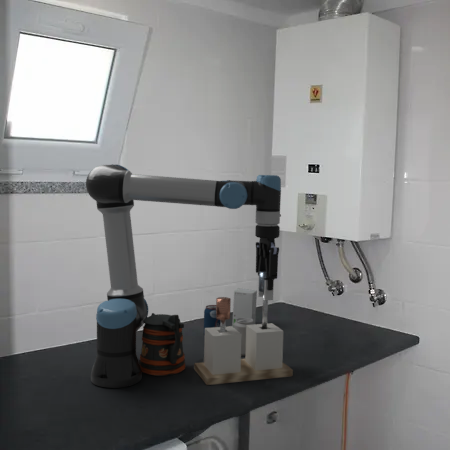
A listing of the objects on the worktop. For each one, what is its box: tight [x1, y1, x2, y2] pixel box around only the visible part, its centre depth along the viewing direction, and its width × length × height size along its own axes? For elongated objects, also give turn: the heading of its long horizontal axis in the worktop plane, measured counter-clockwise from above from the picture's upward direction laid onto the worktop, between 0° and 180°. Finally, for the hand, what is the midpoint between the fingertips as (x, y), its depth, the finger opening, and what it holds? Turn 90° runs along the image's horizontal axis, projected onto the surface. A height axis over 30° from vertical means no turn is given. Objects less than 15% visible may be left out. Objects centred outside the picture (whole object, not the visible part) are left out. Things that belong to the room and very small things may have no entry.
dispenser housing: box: [203, 322, 284, 375], centre depth 186 cm, size 23×9×12 cm, turn 109°
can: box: [234, 318, 256, 357], centre depth 205 cm, size 8×8×12 cm
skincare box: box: [231, 287, 258, 328], centre depth 236 cm, size 8×7×16 cm
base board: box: [193, 358, 294, 386], centre depth 186 cm, size 28×14×2 cm, turn 109°
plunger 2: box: [258, 271, 269, 329], centre depth 186 cm, size 4×4×19 cm
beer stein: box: [139, 312, 186, 377], centre depth 186 cm, size 19×15×20 cm
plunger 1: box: [215, 296, 232, 333], centre depth 183 cm, size 4×4×19 cm
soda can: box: [203, 304, 220, 337], centre depth 222 cm, size 7×7×12 cm
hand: (265, 298), depth 186 cm, fingers closed on plunger 2, 4 cm apart
